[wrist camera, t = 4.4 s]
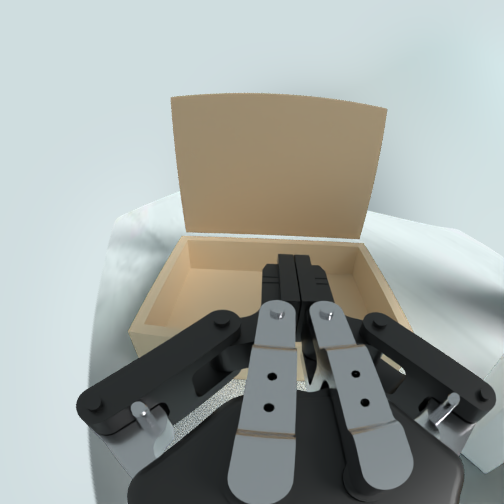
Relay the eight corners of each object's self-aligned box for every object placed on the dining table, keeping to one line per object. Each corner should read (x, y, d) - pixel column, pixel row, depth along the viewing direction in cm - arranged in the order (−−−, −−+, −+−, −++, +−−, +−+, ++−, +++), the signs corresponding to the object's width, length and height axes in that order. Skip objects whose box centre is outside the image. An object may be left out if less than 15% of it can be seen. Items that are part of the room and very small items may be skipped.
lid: (387, 109, 21) (385, 108, 22) (170, 97, 22) (172, 96, 23) (359, 239, 32) (358, 236, 32) (186, 232, 32) (187, 229, 33)
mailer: (396, 373, 20) (416, 339, 17) (142, 367, 20) (127, 331, 18) (356, 274, 34) (363, 243, 31) (185, 267, 34) (181, 235, 32)
